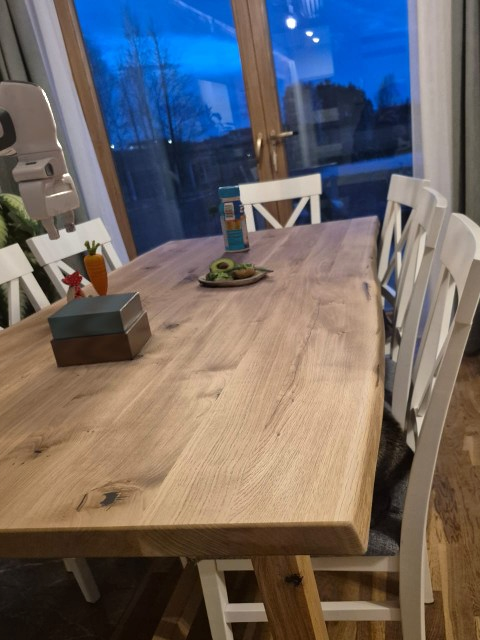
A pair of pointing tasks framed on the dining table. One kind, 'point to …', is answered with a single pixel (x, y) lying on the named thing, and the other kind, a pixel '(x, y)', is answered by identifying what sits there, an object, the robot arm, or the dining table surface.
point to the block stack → (99, 329)
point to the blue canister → (233, 220)
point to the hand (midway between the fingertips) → (63, 235)
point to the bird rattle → (74, 286)
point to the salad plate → (232, 274)
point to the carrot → (96, 269)
